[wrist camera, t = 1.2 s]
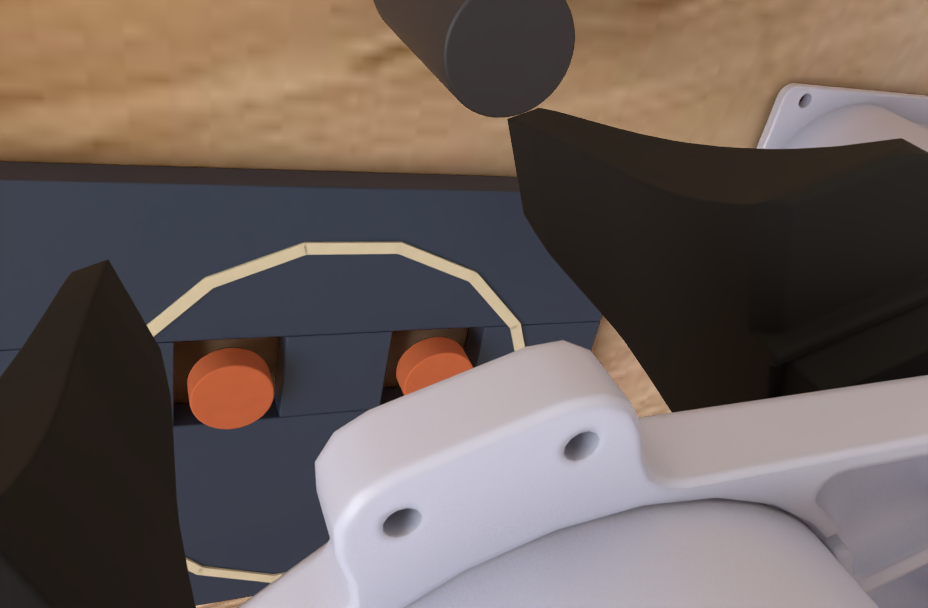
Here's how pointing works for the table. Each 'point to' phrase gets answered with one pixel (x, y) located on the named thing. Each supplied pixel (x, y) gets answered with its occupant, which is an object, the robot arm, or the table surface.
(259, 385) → the eye
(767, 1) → the table surface
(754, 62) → the table surface
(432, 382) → the eye
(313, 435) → the face board
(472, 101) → the marker
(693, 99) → the table surface
